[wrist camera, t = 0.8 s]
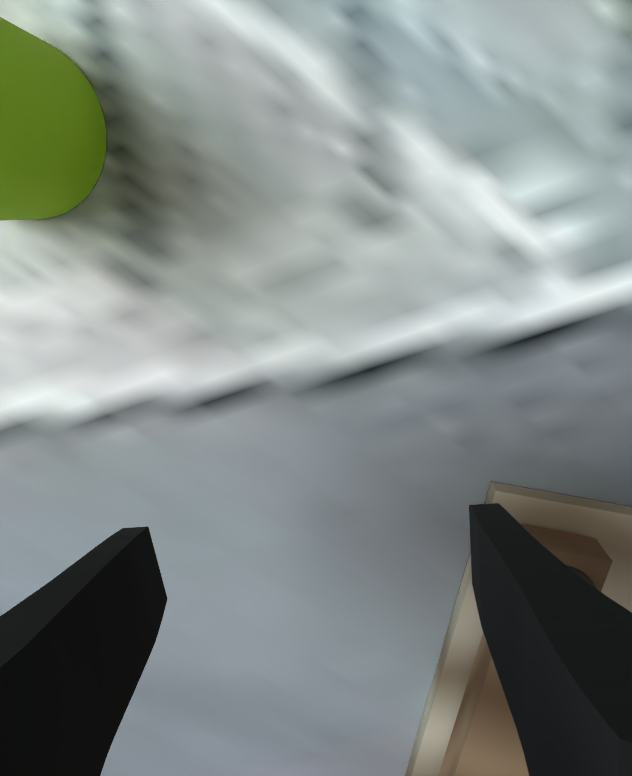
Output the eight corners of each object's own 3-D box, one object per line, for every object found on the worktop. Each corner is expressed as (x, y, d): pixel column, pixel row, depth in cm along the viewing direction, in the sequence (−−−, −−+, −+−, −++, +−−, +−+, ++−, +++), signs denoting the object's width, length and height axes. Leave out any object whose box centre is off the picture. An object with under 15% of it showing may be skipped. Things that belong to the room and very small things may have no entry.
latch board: (671, 875, 28) (680, 893, 27) (391, 822, 28) (392, 838, 27) (843, 545, 22) (860, 557, 22) (491, 481, 22) (495, 490, 22)
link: (495, 854, 27) (528, 1004, 22) (403, 837, 27) (414, 982, 22) (613, 541, 22) (693, 642, 16) (499, 520, 22) (543, 614, 17)
